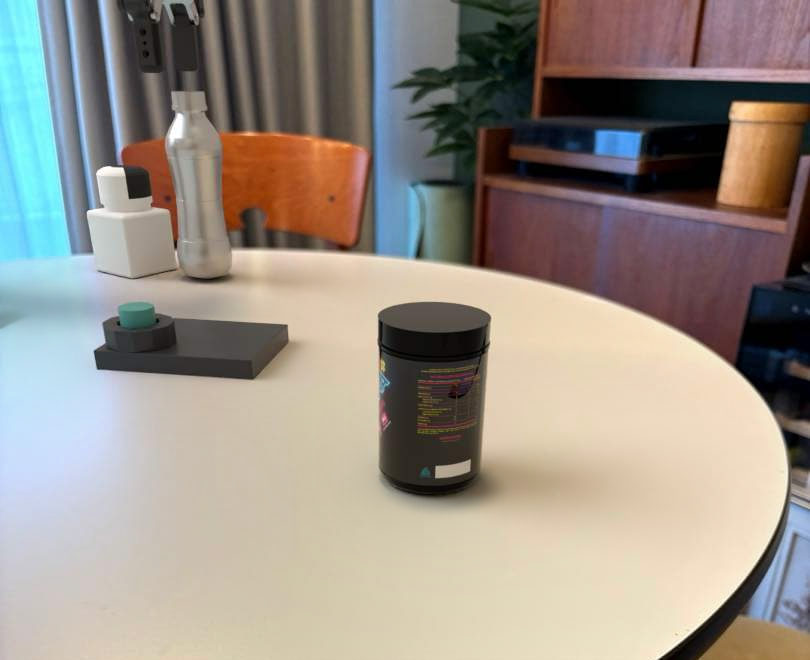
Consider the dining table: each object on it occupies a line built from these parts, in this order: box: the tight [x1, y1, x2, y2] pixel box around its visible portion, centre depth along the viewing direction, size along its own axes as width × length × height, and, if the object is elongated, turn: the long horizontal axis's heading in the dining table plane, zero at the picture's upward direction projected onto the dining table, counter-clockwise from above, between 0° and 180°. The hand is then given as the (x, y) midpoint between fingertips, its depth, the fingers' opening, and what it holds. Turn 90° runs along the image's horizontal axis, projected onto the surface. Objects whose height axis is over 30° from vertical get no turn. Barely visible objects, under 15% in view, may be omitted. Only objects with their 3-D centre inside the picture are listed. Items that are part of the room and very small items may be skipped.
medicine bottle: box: [86, 164, 177, 279], centre depth 101 cm, size 7×7×12 cm
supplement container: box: [376, 301, 492, 495], centre depth 51 cm, size 7×7×10 cm
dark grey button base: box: [93, 312, 290, 381], centre depth 74 cm, size 14×11×4 cm
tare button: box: [117, 301, 157, 328], centre depth 71 cm, size 3×3×2 cm
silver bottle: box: [164, 90, 233, 280], centre depth 96 cm, size 6×7×20 cm
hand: (171, 72), depth 76 cm, fingers open, 8 cm apart
